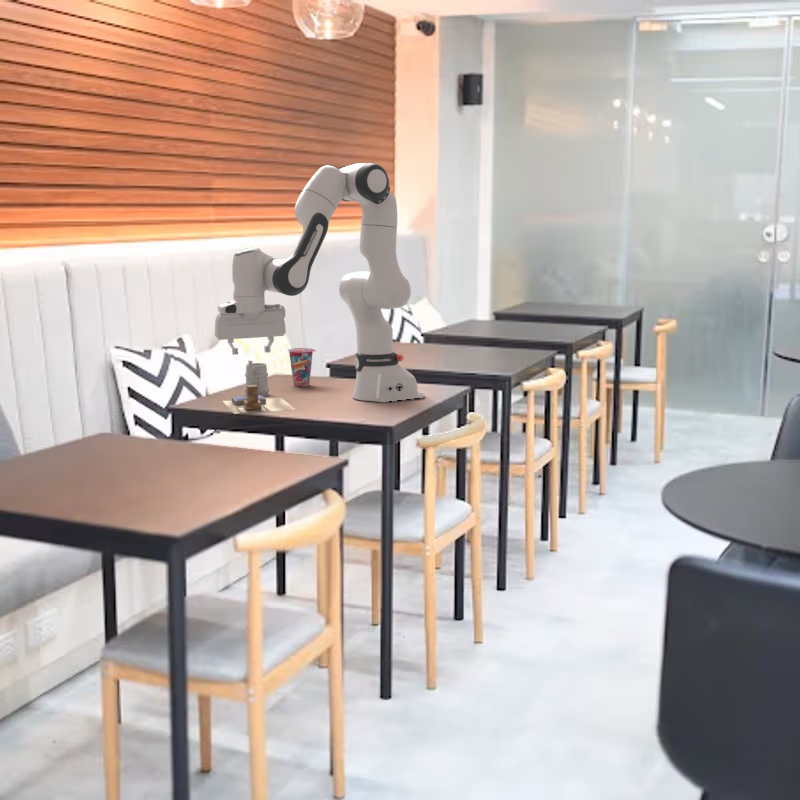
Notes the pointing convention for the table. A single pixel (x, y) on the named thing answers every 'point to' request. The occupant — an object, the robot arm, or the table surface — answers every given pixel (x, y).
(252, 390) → the stamp
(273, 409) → the board
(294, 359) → the cup
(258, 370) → the mug
